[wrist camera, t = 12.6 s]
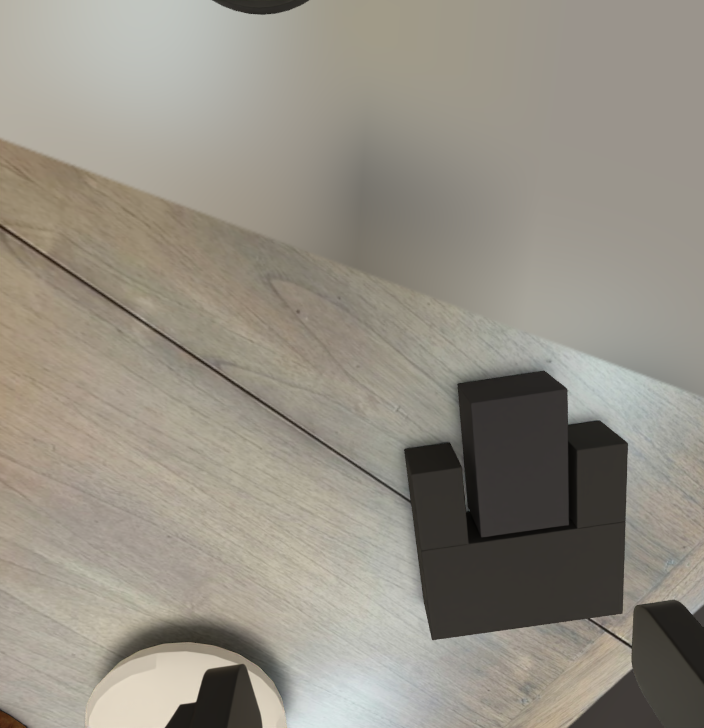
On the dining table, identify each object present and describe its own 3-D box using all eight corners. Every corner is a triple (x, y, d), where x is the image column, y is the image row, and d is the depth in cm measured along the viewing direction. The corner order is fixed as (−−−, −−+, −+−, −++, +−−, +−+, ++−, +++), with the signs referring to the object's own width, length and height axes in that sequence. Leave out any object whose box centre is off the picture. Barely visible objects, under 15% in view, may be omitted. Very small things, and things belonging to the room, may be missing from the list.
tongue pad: (457, 383, 33) (470, 403, 30) (544, 370, 33) (568, 388, 30) (467, 507, 36) (481, 537, 33) (547, 496, 36) (569, 525, 33)
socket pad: (404, 448, 34) (411, 474, 31) (599, 419, 34) (628, 442, 31) (424, 603, 39) (432, 640, 35) (598, 578, 38) (622, 613, 35)
